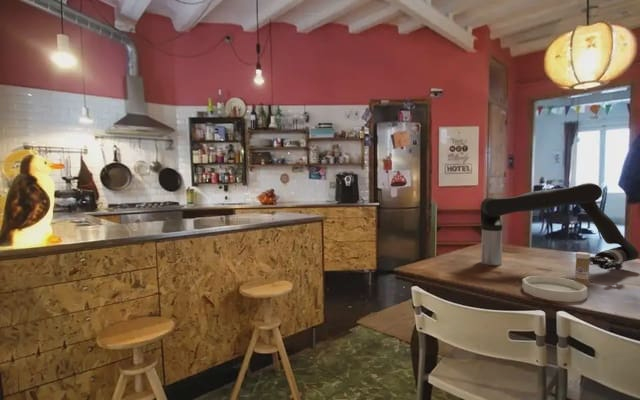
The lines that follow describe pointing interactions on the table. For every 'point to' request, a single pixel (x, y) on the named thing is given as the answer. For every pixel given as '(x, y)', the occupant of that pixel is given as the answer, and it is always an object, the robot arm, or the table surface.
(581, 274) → the sprinkles bottle
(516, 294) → the table surface
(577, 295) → the bowl
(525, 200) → the robot arm
